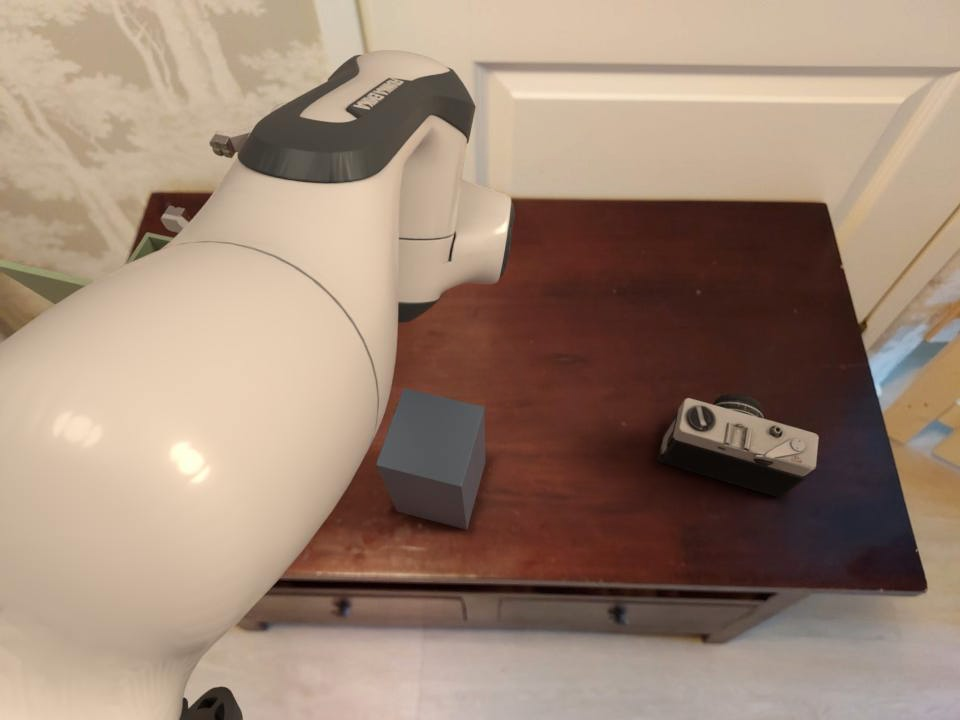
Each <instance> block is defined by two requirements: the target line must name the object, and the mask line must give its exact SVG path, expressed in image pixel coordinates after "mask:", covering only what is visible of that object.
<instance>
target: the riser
mask: <svg viewBox="0 0 960 720" xmlns="http://www.w3.org/2000/svg"><path fill="white" fill-rule="evenodd" d="M485 413H486V412H485V406H482V405H479V404H475V403H470V402H465V401H462V400H457V399H453V398H449V397H445V396H440V395H436V394H432V393H429V392H428V393H427V392H423V391H419V390H416V389H415V390H414V389H411V388H406V387H403V388H402V391H401V393H400V396H399V399H398V402H397V404H396V406H395V410H394V412H393V416H392V418H391V421H390V424H389V427H388V428H387V429H388V430H387V433H386V435H385V438H384V440H383V444H382V447H381V449H380V451H379V455H378V458H377V459H376V463H375V466H376V468H377V471H378V473H379V476H380V477H381V479H382V482H383V484H384V486H385V489H386V490H387V493H388V494H389V497H390V499H391V501H392V503H393V506H394V508H395V510H396V512H397V513H401V514H404V515H409V516H413V517H417V518H420V519H425V520H427V521H432V522H436V523H439V524H443V525H447V526H451V527H454V528H459V529H462V530H466V531H467V530H468V529H469V524H470V521H471V518H472V513H473V510H474V507H475V503H476V499H477V496H478V491H479V488H480V485H481V480H482V477H483V475H484V470H485V466H486V463H487V462H486V460H487V459H486V458H487V457H486V422H485V421H486V420H485V419H486V417H485V415H486V414H485Z"/></svg>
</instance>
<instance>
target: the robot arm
mask: <svg viewBox="0 0 960 720" xmlns="http://www.w3.org/2000/svg"><path fill="white" fill-rule="evenodd" d="M475 113H476V103H475V102H474V100H473V98H472V96H471V94H470V91H468V89H467V87H466V84H464V82H463V81H462V79H461V77H460V76H459V75H458V73H456V71H455V70H454V69H453V68H451V67H448V66H446V65H444V63H442V62H440V61H438V60H436V59H434V58H432V57H430V56H426V55H423V54H419V53H416V52H411V51H404V50H395V49H383V50H382V49H381V50H374V51H370V52H366V53H363V54H355V55H353V56H352V57H350V58H349V59H347V60H345V61H344V62H343V63H342V64H341V65H340V66H339V67H338V68H336V69H335V71H333V73H331V75H330V76H329V77H328V78H327V81H325V82H323V83H321V84H319V85H318V86H316V87H314V88H312V89H310V90H308V91H307V92H305V93H302V95H299V96H297V97H295V98H294V99H292V100H290V101H284V102H281V103H278V104H276V105H274V106H273V108H272V109H271V111H270V113H268V114H267V115H265V116H264V117H262V118H261V119H260V120H259V121H258V122H256V124H255V125H254V126H251V127H248V128H244V129H239V130H236V131H233V132H227V131H221V130H216V131H215V133H214V135H213V136H212V137H211V139H210V140H209V146H210V147H211V149H212V150H211V151H212V152H213V153H214V154H215V155H216V156H218V157H223V156H224V157H225V158H228V159H232V158H234V156H235V155H237V157H236V159H235V160H234V161H233V163H232V164H231V166H230V167H229V169H228V170H227V171H226V173H225V175H224V176H223V177H222V179H221V181H220V182H219V183H218V185H217V186H216V188H215V190H214V191H213V193H212V194H211V195H210V197H209V198H208V199H207V201H206V202H205V203H204V204H203V206H202V207H201V208H200V209H199V210H198V212H197V213H196V214H195V215H194V216H193V218H192V217H190V216H189V212H188V211H187V209H186V208H185V207H181V206H177V207H175V206H174V205H169V206H168V207H167V208H166V209H165V211H164V212H163V214H162V215H161V216H160V221H161V223H162V224H163V226H164V227H165V229H166V230H168V231H170V232H173V233H177V235H175V236H174V237H172V238H173V239H172V240H171V241H170V242H169V243H168V244H167V245H165V246H164V247H163V248H161V249H160V250H158V251H156V252H153V253H151V254H149V255H146V256H144V257H142V258H140V259H137V260H135V261H133V262H131V263H128V264H126V263H125V264H124V265H123V266H120V267H118V268H116V269H115V270H113V271H111V272H109V273H107V274H105V275H103V276H102V277H100V278H98V279H95V280H93V281H94V282H92V283H90V284H88V285H87V286H85V287H83V288H81V289H79V290H78V291H76V292H74V293H73V294H71V295H70V296H68V297H66V298H65V299H63V300H62V301H60V302H59V303H57V304H53V305H52V306H51V307H49V308H47V309H45V310H44V311H43V312H42V313H40V314H39V315H37V316H36V317H35V318H33V319H32V320H30V321H29V322H28V323H26V324H25V325H24V326H22V327H21V328H19V329H18V330H16V332H14V333H13V334H10V336H8V337H7V338H5V340H3V341H2V342H0V720H244V717H243V711H242V709H241V707H240V705H239V704H238V702H237V700H236V697H235V696H234V694H233V692H232V690H231V689H230V688H229V687H226V686H215V687H211V688H210V689H208V690H207V691H206V692H204V693H203V694H202V695H200V697H198V699H197V700H195V701H194V702H193V703H192V704H191V705H190V706H189V701H188V699H187V698H186V697H185V692H186V688H187V685H188V683H189V681H190V678H191V677H192V674H193V672H194V671H195V669H196V667H197V665H198V663H199V662H200V661H201V660H202V658H203V657H204V656H205V655H206V654H207V653H208V652H209V650H210V649H212V647H213V646H215V644H216V643H217V642H218V641H219V640H221V639H222V638H223V637H224V636H225V635H227V633H229V632H230V631H231V630H232V629H233V628H234V627H235V626H236V625H237V624H238V623H239V622H240V621H241V620H243V618H244V617H246V615H247V614H248V613H249V612H250V610H251V609H253V608H254V606H256V604H258V602H259V601H260V600H261V599H263V597H264V596H265V595H267V593H268V592H269V591H270V590H271V588H273V586H274V585H275V584H276V583H277V582H278V581H279V580H280V578H281V577H282V576H283V575H284V573H286V571H287V570H289V568H290V567H291V565H292V564H293V563H294V562H295V561H296V560H297V558H298V557H299V556H300V555H301V554H302V552H303V551H304V550H305V548H306V547H307V546H308V545H309V543H310V542H311V541H312V539H313V538H314V537H315V535H316V534H317V532H318V531H319V529H320V528H321V527H322V526H323V524H324V523H325V522H326V520H327V519H328V518H329V516H330V515H331V513H332V512H333V511H334V509H335V508H336V506H337V505H338V503H339V502H340V500H341V499H342V497H343V495H344V494H345V492H346V491H347V489H348V487H349V486H350V484H351V483H352V480H353V478H354V477H355V475H356V474H357V471H358V470H359V468H360V466H361V464H362V462H363V460H364V458H365V457H366V455H367V453H368V451H369V449H370V448H371V445H372V444H373V441H374V439H375V437H376V435H377V433H378V430H379V428H380V426H381V423H382V421H383V418H384V416H385V412H386V409H387V406H388V403H389V400H390V394H391V391H392V385H393V379H394V374H395V367H396V359H397V352H398V351H397V350H398V335H399V333H398V331H399V323H409V322H412V321H414V320H415V319H417V318H418V317H420V316H421V315H424V313H426V312H427V311H429V310H431V308H432V307H434V306H435V305H436V303H438V302H439V301H440V299H441V298H442V297H443V293H444V292H446V291H448V290H450V289H452V288H454V287H457V286H460V285H463V284H473V285H474V284H475V285H495V284H497V283H498V282H499V281H500V280H501V278H502V277H503V276H504V274H505V271H506V268H507V266H508V265H507V264H508V261H509V256H510V251H511V246H512V240H513V234H514V230H513V229H514V224H515V214H516V212H515V206H514V203H513V200H512V198H511V197H510V196H509V195H507V194H506V193H503V192H501V191H498V190H496V189H493V188H491V187H487V186H485V185H481V184H479V183H475V182H473V181H470V180H465V179H463V176H464V175H463V173H464V167H465V159H466V152H467V146H468V144H469V141H470V138H471V132H472V127H473V121H474V117H475ZM236 153H237V154H236Z"/></svg>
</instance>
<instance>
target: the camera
mask: <svg viewBox="0 0 960 720" xmlns="http://www.w3.org/2000/svg"><path fill="white" fill-rule="evenodd" d="M662 434H663V435H662V438H661V443H660V448H659V452H658V456H657V461H658V462H659V463H661V464H665V465H668V466H671V467H675V468H679V469H682V470H685V471H688V472H692V473H695V474H699V475H702V476H706V477H708V478H711V479H714V480H715V479H716V480H719V481H722V482H725V483H728V484H732V485H735V486H738V487H741V488H746V489H749V490H752V491H755V492H759V493H762V494H766V495H769V496H773V497H776V498H780V499H781V498H782V497H783V496H784V495H786V494H787V493H789V492H790V491H791V490H793V489H794V488H795V487H797V486H798V485H800V484H801V483H802V482H804V481H805V480H806V478H807V475H808V474H810V473H811V472H812V471H814V470H815V469H816V467H817V457H818V447H819V439H820V438H819V435H818V434H817V433H815V432H811V431H808V430H805V429H801V428H798V427H795V426H790V425H788V424H784V423H782V422H781V423H780V422H778V421H773V420H770V419H767V418H764V415H763V407H762V405H761V404H760V402H759V401H758V400H756V399H755V398H754V397H751V396H748V395H745V394H739V393H725V394H722V395H719V396H718V397H717V398H716V399H715V400H714V402H713V404H712V403H708V402H705V401H701V400H697V399H693V398H690V397H687V398H685V399H684V400H683V401H682V403H681V404H680V406H679V407H678V409H677V410H676V413H675V414H674V415H673V418H672V419H671V421H670V423H669V424H668V426H667V427H666V429H665V430H664V432H663V433H662Z"/></svg>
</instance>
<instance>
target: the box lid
mask: <svg viewBox="0 0 960 720" xmlns="http://www.w3.org/2000/svg"><path fill="white" fill-rule="evenodd" d="M0 272H1V273H3V274H4V275H6V276H7V277H9V278H11V279H12V280H13V281H16V282H17V283H19V284H20V285H23V286H24V287H25V288H27V289H29V290H31V291H33V292H34V293H36V294H37V295H39V296H40V297H42V298H44V299H46V300H47V301H49V302H51V303H52V304H53V305H55V304H57V303H59V302H60V301H62V300H63V299H65V298H66V297H68V296H70V295H71V294H73V293H74V292H76V291H78V290H79V289H81V288H83V287H85V286H87V285H88V284H90V283H92V282H94V281H95V280H94V279H93V280H92V279H89V278H85V277H81V276H80V277H79V276H75V275H71V274H67V273H62V272H58V271H53V270H50V269H45V268H40V267H36V266H32V265H27V264H22V263H18V262H14V261H10V260H5V259H1V258H0Z"/></svg>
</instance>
